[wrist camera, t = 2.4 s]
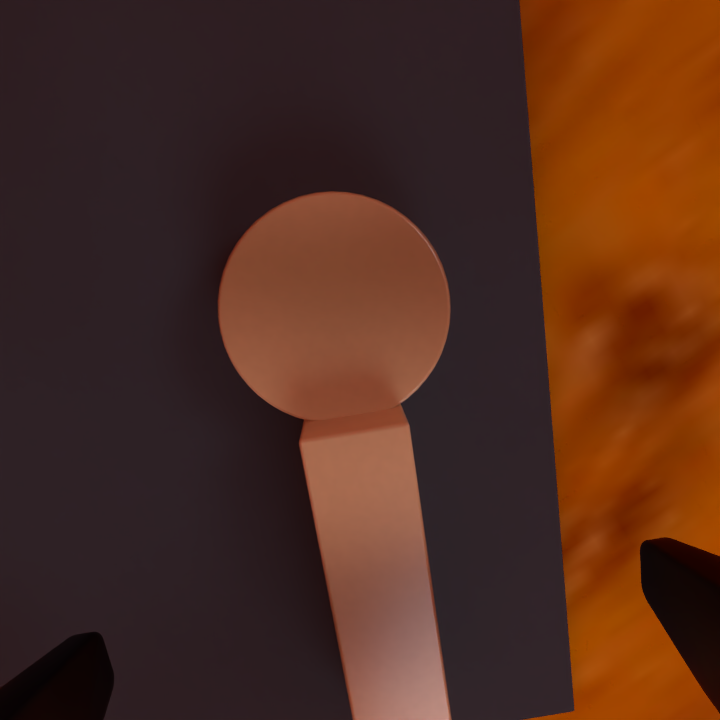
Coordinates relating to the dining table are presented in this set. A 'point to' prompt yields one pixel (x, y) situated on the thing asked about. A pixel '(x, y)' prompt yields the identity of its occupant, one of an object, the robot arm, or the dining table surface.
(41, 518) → the placemat
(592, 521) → the dining table surface
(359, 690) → the wooden spoon
